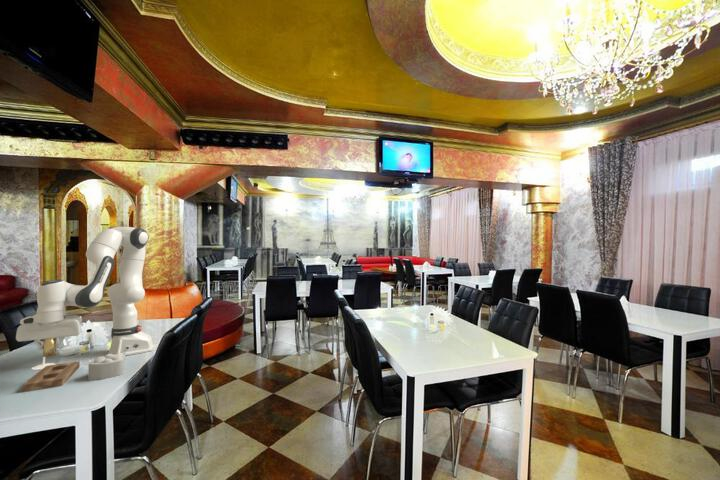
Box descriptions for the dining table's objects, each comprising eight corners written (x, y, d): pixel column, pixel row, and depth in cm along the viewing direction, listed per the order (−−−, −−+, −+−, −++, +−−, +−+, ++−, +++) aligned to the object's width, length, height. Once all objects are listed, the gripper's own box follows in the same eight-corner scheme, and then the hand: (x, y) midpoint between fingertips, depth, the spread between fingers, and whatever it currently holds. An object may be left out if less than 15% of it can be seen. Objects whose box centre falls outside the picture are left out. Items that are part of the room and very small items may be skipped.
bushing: (57, 353, 133) (58, 335, 133) (53, 356, 129) (54, 337, 130) (45, 354, 131) (46, 336, 131) (41, 357, 128) (41, 338, 128)
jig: (79, 367, 147) (79, 361, 147) (62, 385, 128) (62, 378, 128) (45, 372, 141) (46, 365, 141) (22, 392, 122) (22, 384, 122)
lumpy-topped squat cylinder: (124, 375, 139) (124, 356, 139) (86, 382, 131) (87, 363, 131) (124, 367, 147) (125, 350, 147) (89, 374, 139) (90, 356, 139)
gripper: (84, 313, 139) (83, 342, 138) (22, 317, 128) (20, 349, 128) (79, 315, 133) (78, 346, 133) (14, 320, 123) (13, 354, 123)
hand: (49, 348), depth 130 cm, fingers closed on bushing, 4 cm apart
